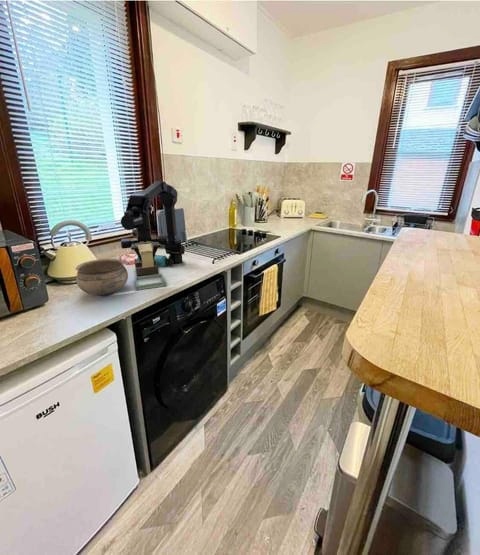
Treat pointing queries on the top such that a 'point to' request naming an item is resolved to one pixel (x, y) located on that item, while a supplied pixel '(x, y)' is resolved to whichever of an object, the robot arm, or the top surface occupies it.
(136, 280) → the tray
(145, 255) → the tape roll
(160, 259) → the beverage bottle
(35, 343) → the top surface
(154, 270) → the tape holder
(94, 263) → the brown bowl
